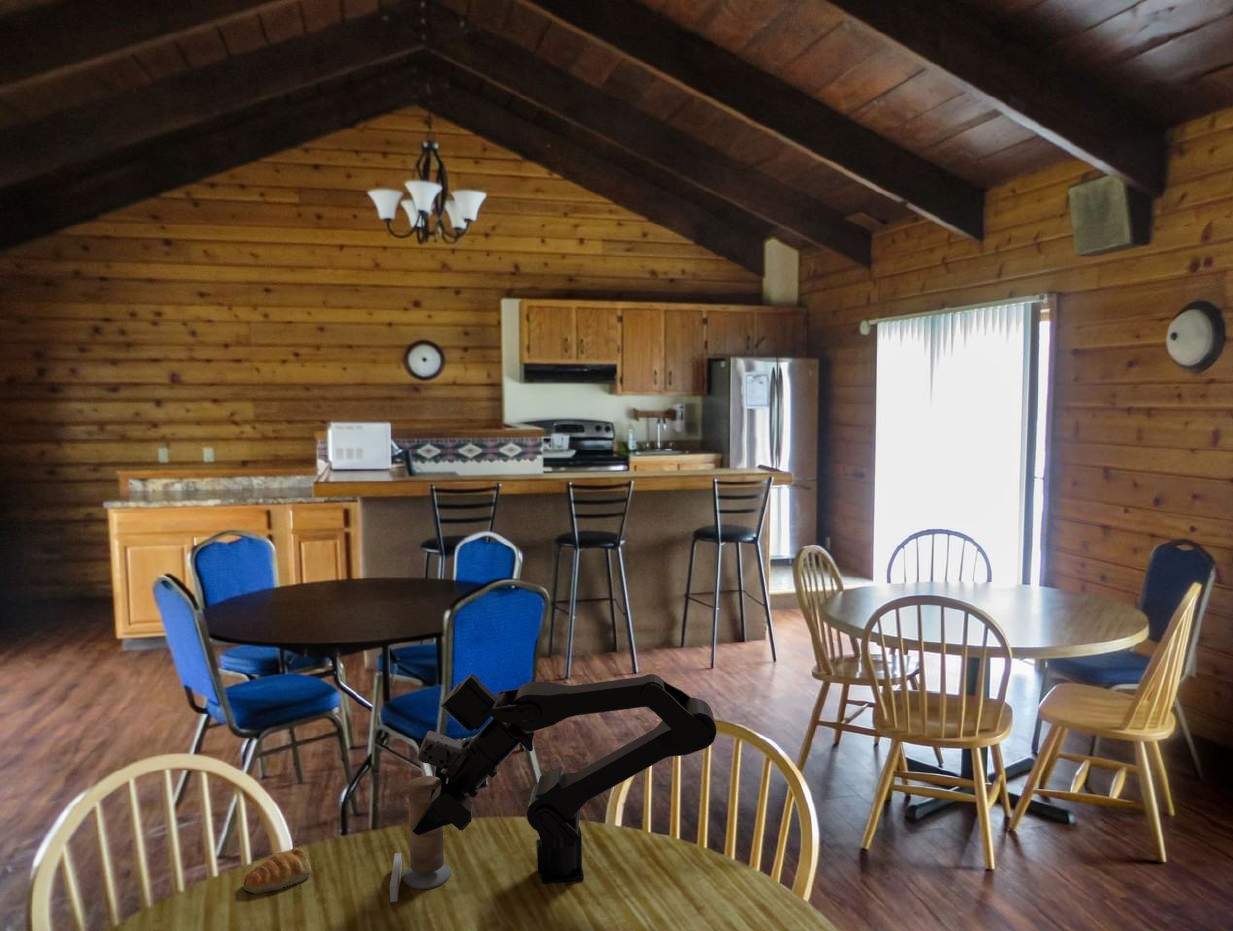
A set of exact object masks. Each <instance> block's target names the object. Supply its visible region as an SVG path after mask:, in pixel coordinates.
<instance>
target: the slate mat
mask: <svg viewBox="0 0 1233 931" xmlns="http://www.w3.org/2000/svg"><path fill="white" fill-rule="evenodd" d="M450 868H451V867H450V866H449V865H447V864H446V863H445V862H444V864H443V866H442V867H441V868H440V869H438V870H437V871H434V872H431V873H417V872H414V871H413V870H412V869H411V866H409V867H408V868H407V869H405V871H404V872H403V882H404V884H405V885H406V886H407V887H409V888H411V889H416V890H428V889H429V890H430V889H433V888H437V887H440V886H441V885H443V884H445V883H446V882H447V881H448V880H449V878H450V876H451V869H450Z"/></svg>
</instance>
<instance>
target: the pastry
mask: <svg viewBox="0 0 1233 931" xmlns="http://www.w3.org/2000/svg"><path fill="white" fill-rule="evenodd" d="M270 857H271V858H270ZM270 857H269V858H268V859H267V860H266V861H265V862H263V863H261V864H259V865H257V866H256V867H255V868H254V869H252V870H251V871H250V872H249V873H247V874H246V875H245V878H244V881H243V889H244V890H245V891H247V892H249V893H252V894H259V895H260V894H264V893H268V892H273V891H279V890H283V889H284V888H283V887H285V888H288V887H290V886H289V885H291V886H293V885H292V884H294V885H296V884H299V883H301V882H304V881H305V880H307V879H308V878H310V876H311V874H312V867H311V864H310V861H309V860H308V858H307V854H306V852H305V851H304V850H303V849H302V848H301V847H296V846H295V847H293V848H292V849H291V850H288V851H284V852H281V853H277V854H273V855H271V856H270ZM303 880H304V881H303ZM298 882H299V883H298ZM295 883H296V884H295ZM287 886H288V887H287Z"/></svg>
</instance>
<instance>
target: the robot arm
mask: <svg viewBox="0 0 1233 931" xmlns="http://www.w3.org/2000/svg"><path fill="white" fill-rule="evenodd" d="M439 707H440V708H442V709H443V710H444V712H446V713H447V714H448V715H449V716H450V717H451V718H452V719H453V720H454V721H455V722H456V723H458V725H460V726H461V727H462V728H463V730H465V731H466V732H467V731H469V732H471V733H472V732H473V731H474V730H475V731H479V730H480V729H481V727H482V726H483V728H482V729H481V730H480V731H479V732H478V733H477V734H476V735H475V736H474V737H471V736H470V737H466V738H465V739H464V740H463V741H462V742H460V741H457V740H455V739H453V738H452V737H449V736H446V735H445V734H441V733H439V732H437V731H433V730H428V731H427V732H426V734H425V736H424V739H423V740H422V743H421V745H420V748H419V751H418V755H417V760H418V761H420V762H421V763H423V764H428V765H431V766H433V767H435V769H434V776H435V777H438V778H440V779H441V781H442V784H441V785H440V786H439V787H438V788H437V789H436V791H435V790H434V789H432V792H431V805H430V806H429V807H428V809H427V810H426V812H425V813H424V814H423V816H422V817H421V819H420V820H419V822H418V823H417V824H416V826H415V827H414V829H413V832H414V833H415V834H416V835H421V834H423V833H426V832H429V831H431V830H434V829H437V828H440V827H442V826H443V827H446V826H448V825H449V826H450V825H453V826H454V827H455V828H456V829H458V830H459V831H464V830H465V829H466V828H467V827H468V825H470V824H471V822H472V819H473V801H471V800H470V799H469V798H468V797H467V796H466V795H467V794H468V795H469V796H470V797H471V798H472V799H474V798H476V796H477V795H478V794H479V788H480V786H481V785H482V784H483V783H484V782H485V781H486V780H488V778H491V779H494V777H496V775H497V774H498V767H499V766H500V765H501V764H502V763H503V762H504V761H505V760H507V758H508V757H509V756H510V755H511V754H512V753H513V752H514V751H515V750H516V749H517V748H518V747H519V746H520V745H521V746H523V747H524V749H526V750H527V751H528V752H533V751H534V744H535V741H534V736H535V732H536V731H538V730H542V729H545V728H549V727H552V726H554V725H557V724H559V723H560V722H562V721H564V720H567V719H568V718H572V717H578V716H585V715H591V714H601V713H608V712H616V711H623V710H631V709H638V708H639V709H640V708H648V709H649V710H651V711H652V712H654V714H655V715H657V716H658V717H659V718H660V720H661V721H660V722H659V723H658V725H657V726H655V727H654V729H652V730H650V731H649V732H646V733H645V734H643V735H641V736H639V737H637V738H636V739H634V740H632V741H630V742H628V743H627V744H625V745H623V746H622V747H620V748H618V749H615V750H614V751H613V752H611V753H609V754H607V755H605V756H603V757H601V758H599V759H598V760H596V761H595V762H593V763H590V764H589V765H587V766H585V767H584V768H582V769H579V770H578V771H576V772H567V773H565V772H564V769H563V767H562V765H560V766H558V767H556V768H555V769H554V770H553V771H551V772H549V773H547V774H545V775H540V776H539V778H538V782H537V783H535V785H534V786H533V787H532V791H531V794H530V799H529V803H528V808H527V811H526V820H527V821H528V824H529V826H531V828H532V829H533V830H535V831H536V832H537V834H538V836H539V839H536V840H535V844H536V845H535V850H536V852H535V856H536V858H535V859H536V862H535V864H536V871H537V873H538V874H539V875H540V880H541V883H543V884H547V883H549V884H550V883H558V882H570V881H579V880H583V879H585V874H584V869H583V847H582V846H583V844H582V843H583V838H582V837H583V835H582V832H581V827H580V816H581V811H582V810H581V809H582V808H583V807H584V806H585V804H586V803H587V802H589V801H591V800H592V799H594V798H596V797H598V796H599V795H602V794H603V793H605V792H607V791H609V790H611V789H612V788H614V787H616V786H618V785H619V784H621V783H623V782H626V781H627V780H628V779H630V778H632V777H634V776H636V775H637V774H639V773H642V772H643V771H645V770H646V769H648V768H650V767H652V766H654V765H655V764H657V763H659V762H662V761H663V760H665V759H667V758H672V757H673V758H674V757H681V756H688V755H692V754H694V753H697V752H699V751H703V750H706V749H707V748H709V747H710V746H712V745H713V743H714V742H715V740H716V735H717V725H716V721H715V717H714V713H713V711H712V707H711V706H710V705H709V704H708V702H706V701H704V700H703V699H700V698H696V697H691V696H690V695H689V694H687V693H685V691H683V690H682V689H679V688H678V687H676V686H674V685H672V684H670V683H668V682H667V681H665V680H664V679H662V677H660V676H659V675H657V674H654V673H648V674H645V675H644V676H643V675H642V676H637V677H630V678H622V679H620V678H619V679H614V680H607V681H599V682H591V683H584V684H576V685H566V684H565V685H564V684H561V683H557V682H554V681H553V682H552V681H529V682H526V683H524V684H522V685H521V686H520V687H519V688H514V689H506V690H499V691H498V692H497V693H496V695H495V694H494V693H493V692H492V691H490V689H489V688H488V687H486V686H485V685H484V684H483V683H482V681H481V680H480V678H478V676H476V674H474V673H470V675H469V676H468V677H466V678H464V679H463V681H461V682H458V683H457V684H456V685H455V686H454V687H453V689H452V690H450V692H449V693H448V694H447V695H446V696H445V698H444V699H443V700H442V701H441V702H440V704H439ZM491 717H492V719H491ZM489 719H490V721H488V720H489ZM487 721H488V723H487V724H486V725H485V726H484V724H485V723H486V722H487Z"/></svg>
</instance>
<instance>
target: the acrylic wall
mask: <svg viewBox="0 0 1233 931" xmlns="http://www.w3.org/2000/svg"><path fill="white" fill-rule="evenodd" d="M402 868H403V860H402V852H395V853H394V856H393V863H392V868H391V869H392V870H391V877H390V884H389V902H390V903H395V902H398V899H399V893H400V892H399V891H400V884H401V876H402V870H403V869H402Z"/></svg>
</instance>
